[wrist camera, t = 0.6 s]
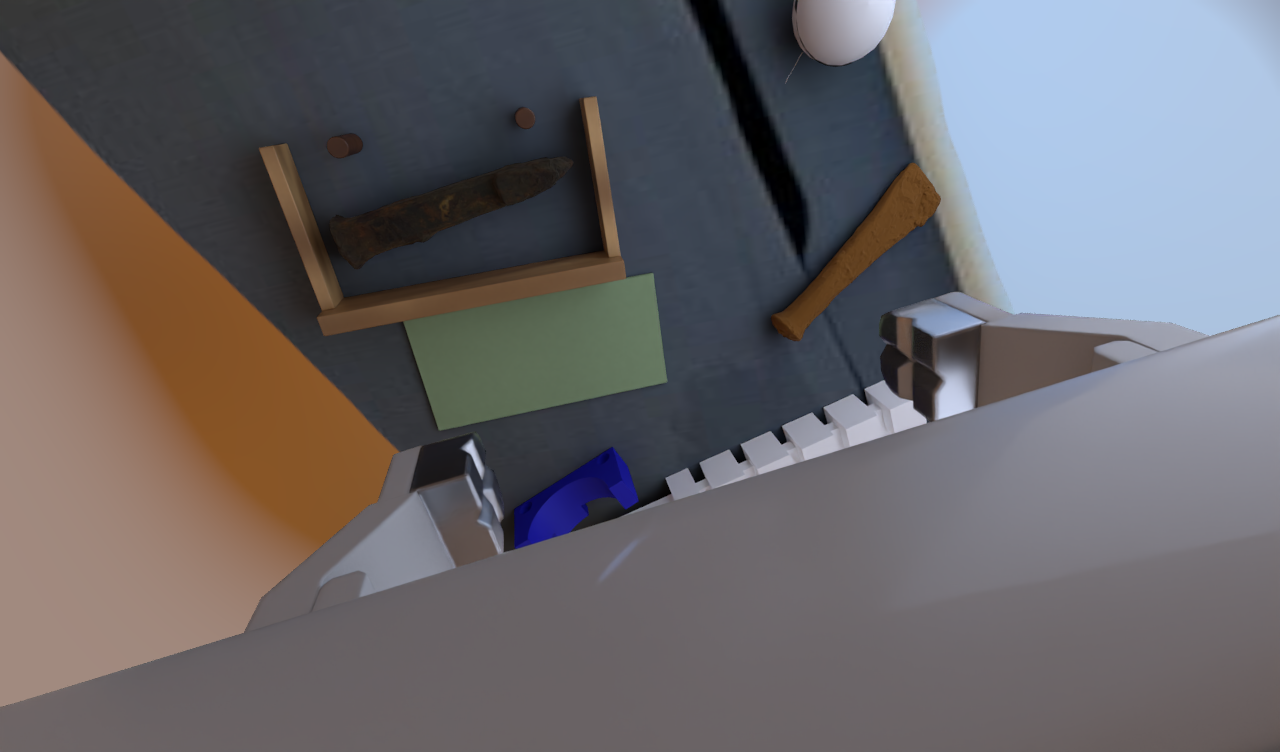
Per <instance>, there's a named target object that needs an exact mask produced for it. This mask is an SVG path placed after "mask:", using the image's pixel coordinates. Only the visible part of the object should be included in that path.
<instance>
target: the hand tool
mask: <svg viewBox="0 0 1280 752" xmlns="http://www.w3.org/2000/svg"><path fill="white" fill-rule="evenodd" d="M572 165H573V161H572V160H571V159H569V158H567V157H556V158H550V159H549V158H547V157H545V158H540V159H536V160H533V161H528V162H525V163H516V164H512V165H507V166H505V167H503V168H501V169H497V170H495V171H493V172H489V173H486V174H483V175H480V176H476V177H473V178H470V179H466V180H463V181H460V182H457V183H454V184H451V185H448V186H444V187H442V188H439V189H436V190H434V191H431V192H428V193H425V194H422V195H419V196H412V197H410V198H407V199H402V200H399V201H396V202H394V203H392V204H390V205H386V206H383V207H381V208H379V209H377V210H374V211H370V212H367V213H365V214H362V215H358V216H355V217H352V218H344V217H342V216H339V215H336V217H333V218H332V219H331V220H330V224H329V227H330V232H331V234H332V236H333V239H334V241H335V243H336V245H337V247H338V250H339V253H340V255H341V256H342V257H343V258H344V259H346V260H347V261H348V263H349V264H350V265H351V266H352V267H353V268H354V269H360V268H361V267H362V266H363V265H364V263H365V262H366V261H368V260H369V259H370V258H372V257H373V256H375V255H378V254H380V253H382V252H385V251H388V250H390V249H392V248H396V247H400V246H404V245H408V244H413V243H415V242H425V241H427V240H429V239H430V238H431V237H432V236H433V235H434V234H435V233H436V232H438V231H441V230H443V229H446V228H449V227H452V226H454V225H457V224H460V223H462V222H464V221H467V220H470V219H472V218H474V217H477V216H479V215H482V214H485V213H488V212H491V211H493V210H496V209H499V208H502V207H504V206H506V205H507V206H509V205H513V204H515V203H518V202H522V201H524V200H526V199H529V198H532V197H534V196H536V195H538V194H539V193H541V192H543V191H545V190H547V189H549V188H551V187H552V186H553V185H555V184H556V181H558V180H559V179H560V178H562V177H563V176H564V175H565V173H566V172H567V171H568V170H569V169H570V168H571V167H572Z"/></svg>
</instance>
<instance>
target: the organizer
mask: <svg viewBox="0 0 1280 752" xmlns="http://www.w3.org/2000/svg"><path fill="white" fill-rule="evenodd" d="M864 390H865V394H866V399H867V403H868V406H866V405H865V404H864V403H863V402H862V401H861V400H859V399H858V398H857V397H856V396H855V395H854V394H852V395H850V396H848V397H845V398H843V399H841V400H839V401H836V402H834V403H832V404H830V405H827V406H825V407H823V409H824V412H825V416H826V420H827V423H828V424H826V425H824V424H823V423H822V422H821V421H820V420H819V419H818V418H817V417H816V416H815V415H814V414H813V413H810V414H807V415H805V416H803V417H801V418H798V419H796V420H794V421H792V422H789V423H787V424H785V425H783V426H782V428H783V431H784V434H785V437H786V440H787V442H786V443H784V444H782V445H781V443H780V442H779V441H778V440H777V438H776V437H775V436H774V435H773V433H772V432H771V431H769V432H767V433H765V434H763V435H760V436H758V437H756V438H754V439H751V440H749V441H747V442H745V443H742V444H741V447H742V450H743V452H744V455H745V458H746V461H744V462H742V463H739V464H738V462H737V461H736V459H735V458H734V456H733V455H732V453H731V451H730V450H727V451H725V452H722V453H720V454H718V455H716V456H713V457H711V458H709V459H707V460H704V461H702V462H700V463H699V464H700V466H701V468H702V471H703V473H704V476H705V478H706V479H704V480H701V481H699V482H697V483H695V482H694V480H693V477H692V476H691V473H690V471H689V469H688V468H687V469H684V470H682V471H680V472H678V473H675V474H673V475H671V476H669V477H666V478H665V479H666V481H667V484H668V486H669V489H670V491H671V493H672V494H670V495H668V496H666V497H664V498H661V499H659V500H657V501H655V502H652V503H650V504H648V505H646V506H644V507H641V508H639V509H637V510H635V511H632V512H630V513H628V514H626V515H629V514H633V513H636V512H639V511H642V510H646V509H649V508H652V507H655V506H659V505H662V504H665V503H668V502H672V501H675V500H678V499H682V498H685V497H688V496H691V495H695V494H698V493H701V492H704V491H708V490H711V489H714V488H717V487H721V486H724V485H727V484H731V483H734V482H737V481H740V480H744V479H747V478H750V477H753V476H757V475H760V474H763V473H766V472H770V471H773V470H776V469H779V468H783V467H786V466H789V465H793V464H796V463H799V462H802V461H806V460H809V459H812V458H815V457H819V456H822V455H825V454H828V453H832V452H835V451H838V450H842V449H845V448H848V447H851V446H855V445H858V444H861V443H864V442H868V441H871V440H874V439H877V438H881V437H884V436H887V435H890V434H894V433H897V432H900V431H903V430H907V429H910V428H913V427H916V426H920V425H923V424H926V423H927V421H926V418H925V417H924V416H922V415H921V414H920V413H918V412H917V411H916V410H914V409H913V401H911V400H906V399H902V398H899V397H898V396H896V395H895V394H894V393H893V392H892V391H891V390H890V389H889V387H888V386H887V385H886V383H885V380H883V381H881V382H879V383H877V384H874V385H872V386H870V387H868V388H865V389H864ZM626 515H623V516H626ZM623 516H621V517H623Z"/></svg>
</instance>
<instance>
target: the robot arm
mask: <svg viewBox="0 0 1280 752" xmlns="http://www.w3.org/2000/svg"><path fill="white" fill-rule="evenodd" d="M879 336H880V337H881V338H882V339H883V341H884V342H885V343H886V344H887V345H886V347H885V349H884V350H883V352H882V354H881V356H880V361H881V372H882V375H883V377H884V380H885V383H886V385H887V386H888V387H889V389H890V390H891V391H892V392H893V393H894V394H895V395H896V396H898V397H899V398H902V399H906V400H911V401H913V409H914V410H916V411H917V412H918V413H920V414H921V415H922V416H924V417H925V418H926V419H928V420H929V421H930V422H929V423H926V424H923V425H920V426H916V427H913V428H910V429H907V430H903V431H900V432H897V433H894V434H890V435H887V436H884V437H881V438H877V439H874V440H871V441H868V442H864V443H861V444H858V445H855V446H851V447H848V448H845V449H842V450H838V451H835V452H832V453H828V454H825V455H822V456H819V457H815V458H812V459H809V460H806V461H802V462H799V463H796V464H793V465H789V466H786V467H783V468H779V469H776V470H773V471H770V472H766V473H763V474H760V475H757V476H753V477H750V478H747V479H744V480H740V481H737V482H734V483H731V484H727V485H724V486H721V487H717V488H714V489H711V490H708V491H704V492H701V493H698V494H695V495H691V496H688V497H685V498H682V499H678V500H675V501H672V502H668V503H665V504H662V505H659V506H655V507H652V508H649V509H646V510H642V511H639V512H636V513H633V514H629V515H626V516H623V517H619V518H616V519H613V520H610V521H606V522H603V523H600V524H597V525H593V526H590V527H587V528H584V529H580V530H577V531H574V532H570V533H567V534H564V535H561V536H557V537H554V538H551V539H548V540H544V541H541V542H538V543H535V544H531V545H528V546H525V547H521V548H518V549H515V550H512V551H508V552H505V553H503V549H504V532H503V530H502V527H501V525H500V522H501V521H502V519H503V518H504V505H503V499H502V493H501V490H500V487H499V483H498V480H497V478H496V475H495V473H494V470H492V469H490V468H489V467H487V466H485V460H486V450H485V448H484V446H483V443H482V441H481V439H480V436H479V435H478V434H477V433H476V432H472V433H468V434H465V435H461V436H457V437H453V438H450V439H446V440H442V441H439V442H435V443H431V444H428V445H424V446H418V447H415V448H412V449H409V450H406V451H403V452H400V453H397V454H394V455H393V458H392V460H391V463H390V466H389V469H388V472H387V476H386V478H385V481H384V484H383V487H382V490H381V493H380V496H379V499H378V502H377V503H375V504H371V505H369V506H368V507H367V508H365V509H364V510H363V511H362V512H361V513H359V514H358V515H357V516H356V517H355V518H354V519H352V520H351V521H350V522H349V523H348V524H347V525H346V526H344V527H343V528H342V529H341V530H340V531H338V532H337V533H336V534H335V535H334V536H333V537H332V538H330V539H329V540H328V541H327V542H326V543H325V544H323V545H322V546H321V547H320V548H319V549H318V550H316V551H315V552H314V553H313V554H312V555H311V556H310V557H308V558H307V559H306V560H305V561H304V562H303V563H301V564H300V565H299V566H298V567H297V568H296V569H294V570H293V571H292V572H291V573H290V574H289V575H287V576H286V577H285V578H284V579H283V580H282V581H280V582H279V583H278V584H277V585H276V586H275V587H273V588H272V589H271V590H270V591H269V592H268V593H267V594H265V595H264V596H263V597H262V598H261V600H260V602H259V604H258V606H257V608H256V610H255V612H254V614H253V616H252V618H251V620H250V621H249V623H248V626H247V627H246V629H245V632H244V633H242V634H239V635H235V636H232V637H229V638H226V639H222V640H219V641H216V642H213V643H210V644H206V645H203V646H200V647H196V648H193V649H190V650H187V651H183V652H180V653H177V654H174V655H170V656H167V657H164V658H161V659H157V660H154V661H151V662H147V663H144V664H141V665H138V666H134V667H131V668H128V669H125V670H121V671H118V672H115V673H112V674H108V675H106V676H102V677H99V678H95V679H92V680H89V681H86V682H82V683H79V684H76V685H73V686H69V687H66V688H63V689H60V690H57V691H53V692H50V693H46V694H43V695H40V696H37V697H34V698H30V699H27V700H24V701H20V702H17V703H14V704H10V705H6V706H3V707H0V752H1280V315H1277V316H1274V317H1271V318H1268V319H1264V320H1261V321H1258V322H1255V323H1251V324H1248V325H1245V326H1242V327H1239V328H1235V329H1232V330H1229V331H1225V332H1222V333H1219V334H1216V335H1212V336H1209V335H1205V334H1202V333H1200V332H1197V331H1194V330H1191V329H1188V328H1185V327H1182V326H1179V325H1176V324H1173V323H1165V322H1151V321H1136V320H1121V319H1106V318H1090V317H1076V316H1060V315H1045V314H1030V313H1020V314H1016V315H1013V314H1011V313H1008V312H1006V311H1003V310H1001V309H999V308H996V307H994V306H991V305H989V304H987V303H984V302H982V301H980V300H977V299H975V298H972V297H970V296H968V295H965V294H963V293H960V292H951V293H948V294H945V295H942V296H939V297H936V298H932V299H928V300H925V301H922V302H919V303H916V304H913V305H909V306H906V307H903V308H900V309H897V310H893V311H890V312H888V313H886V314H884V315H882V316H881V319H880V323H879Z"/></svg>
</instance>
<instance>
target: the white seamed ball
mask: <svg viewBox="0 0 1280 752" xmlns="http://www.w3.org/2000/svg"><path fill="white" fill-rule="evenodd" d="M895 2H896V0H794V4H793V13H792V22H793V29H794V35H795V37H796V39H797V41H798V43H799V46H800V48H801V49H802V50H803V51H804V52H805V53H806V54H807V55H808V56H809V57H810V58H812V59H814V60H816V61H818V62H819V63H821V64H824V65H827V66H833V67H838V66H845V65H848V64H851V62H853V61H856V60H858V59H860V58H862V57H864V56H865V55H866V54H868V53H869V52H870V51H871V50H873V49H874V48H875V47H876V46H877V44H878V43H879V42H880V40H881V39H882V38H883V36H884V35H885V33H886V31H887V29H888V27H889V24H890V22H891V20H892V17H893V13H894V7H895ZM802 53H803V52H802ZM801 55H802V54H801ZM801 55H800V56H801ZM799 58H800V57H799ZM797 61H798V60H797ZM796 63H797V62H796ZM795 65H796V64H795ZM794 67H795V66H794ZM793 69H794V68H793ZM791 72H792V71H791ZM790 74H791V73H790ZM788 77H789V76H788ZM787 79H788V78H787ZM786 81H787V80H786ZM785 83H786V82H785Z"/></svg>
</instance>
